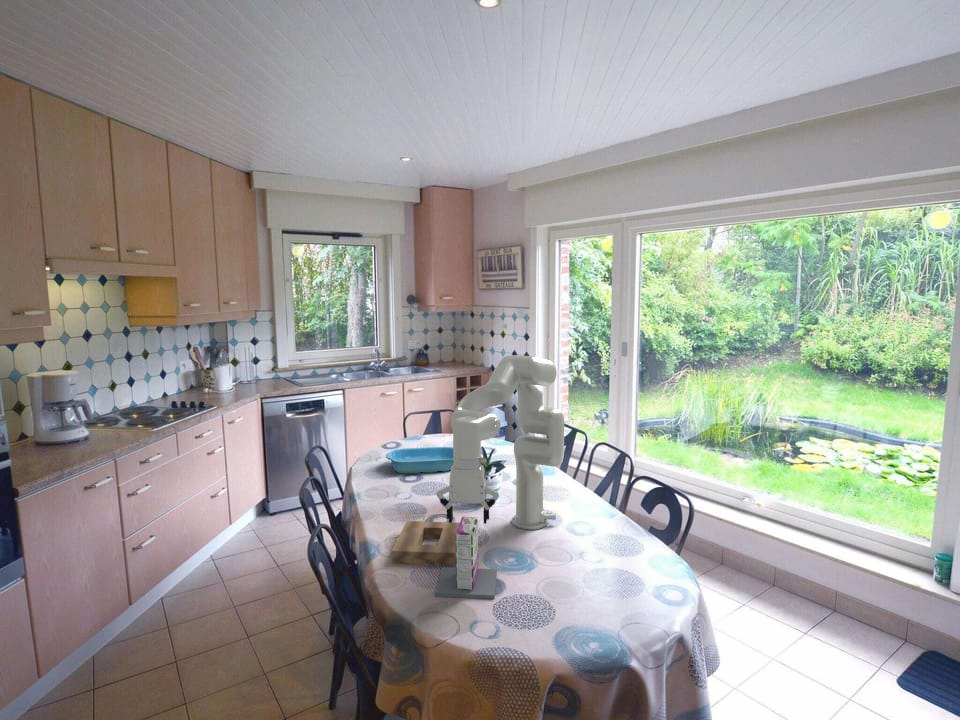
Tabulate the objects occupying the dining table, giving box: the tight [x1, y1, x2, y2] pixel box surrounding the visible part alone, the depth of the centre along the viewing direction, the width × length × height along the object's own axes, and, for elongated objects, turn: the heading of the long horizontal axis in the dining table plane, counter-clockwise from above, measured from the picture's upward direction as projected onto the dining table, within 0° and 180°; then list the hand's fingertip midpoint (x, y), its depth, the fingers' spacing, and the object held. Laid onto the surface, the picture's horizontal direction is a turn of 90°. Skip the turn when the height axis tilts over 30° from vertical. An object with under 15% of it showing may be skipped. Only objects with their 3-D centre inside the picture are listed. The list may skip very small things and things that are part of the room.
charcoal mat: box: [434, 566, 498, 600], centre depth 154 cm, size 16×14×1 cm
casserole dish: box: [385, 446, 454, 474], centre depth 257 cm, size 37×22×7 cm, turn 102°
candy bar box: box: [455, 516, 480, 590], centre depth 153 cm, size 11×5×16 cm, turn 173°
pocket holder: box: [391, 520, 460, 567], centre depth 175 cm, size 20×22×4 cm
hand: (468, 521), depth 152 cm, fingers open, 9 cm apart
